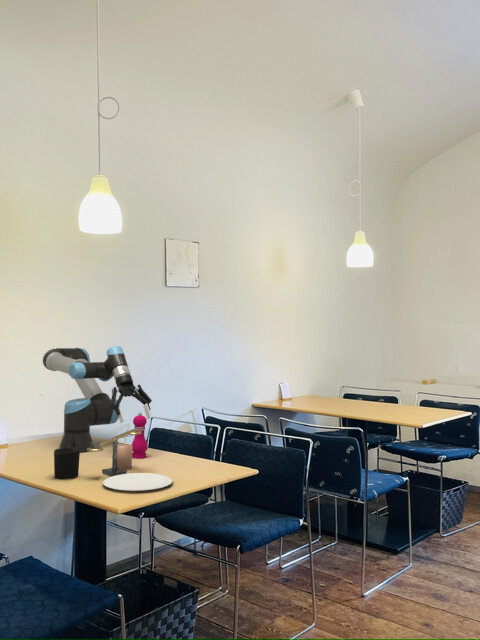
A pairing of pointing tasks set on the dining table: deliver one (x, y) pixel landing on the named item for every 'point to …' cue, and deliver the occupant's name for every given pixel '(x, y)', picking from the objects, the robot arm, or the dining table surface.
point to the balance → (96, 447)
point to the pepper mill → (139, 437)
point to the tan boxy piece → (124, 456)
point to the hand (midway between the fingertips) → (136, 419)
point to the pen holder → (66, 463)
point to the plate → (137, 482)
